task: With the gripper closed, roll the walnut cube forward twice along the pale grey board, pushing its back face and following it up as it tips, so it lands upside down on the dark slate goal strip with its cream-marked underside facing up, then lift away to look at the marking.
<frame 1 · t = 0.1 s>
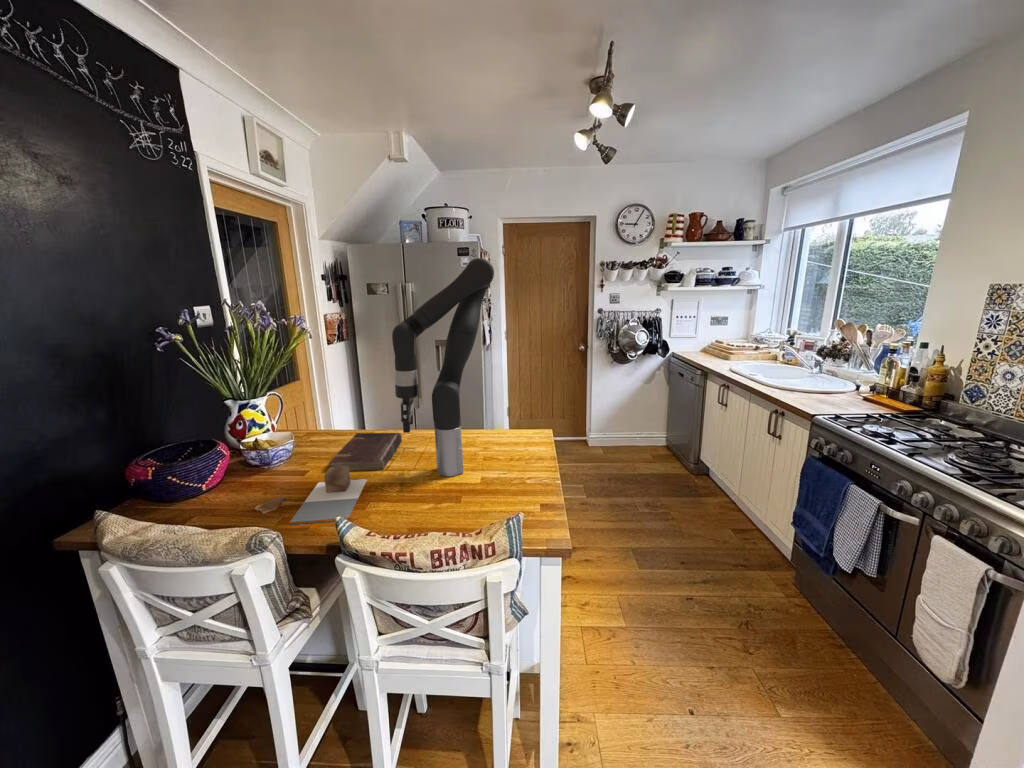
hand: (408, 428, 141), 17 cm above the table, tool pointing down, fingers open, 8 cm apart
shard: (272, 507, 125), on the table
walnut cube: (338, 487, 134), point 1 cm above the table, touching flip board
hardback book: (369, 458, 161), on the table
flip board: (332, 501, 127), on the table
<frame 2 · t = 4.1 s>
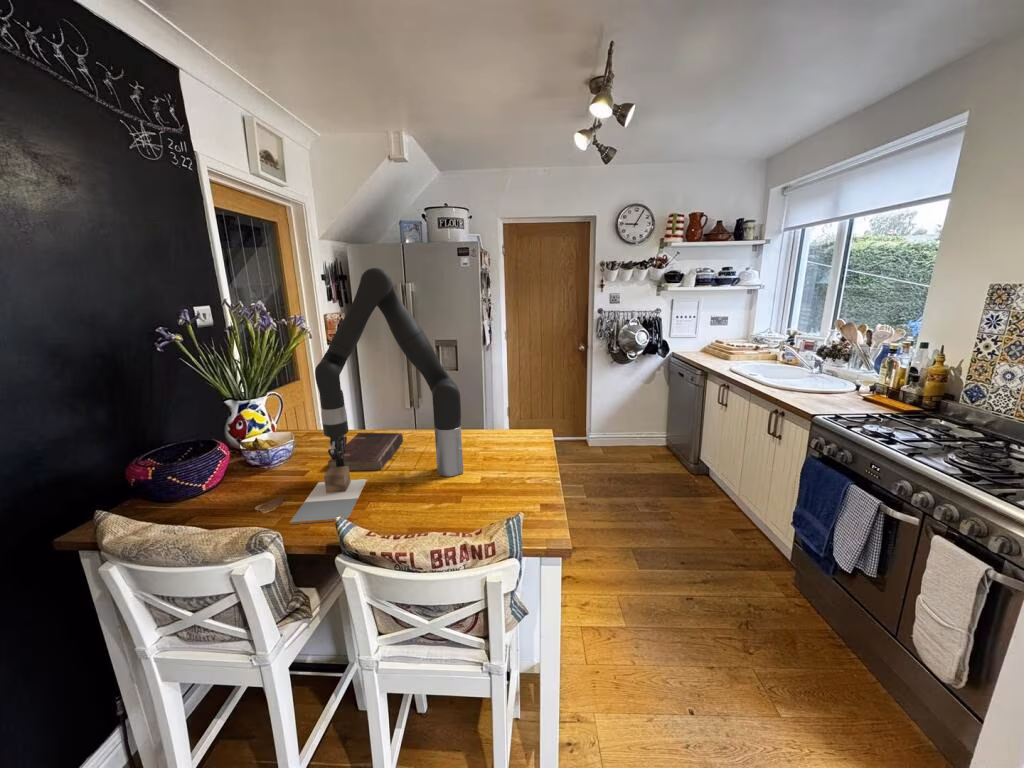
hand: (340, 468, 137), 6 cm above the table, tool pointing down, fingers closed
walnut cube: (338, 487, 134), point 1 cm above the table, touching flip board, gripper
everything else where it was.
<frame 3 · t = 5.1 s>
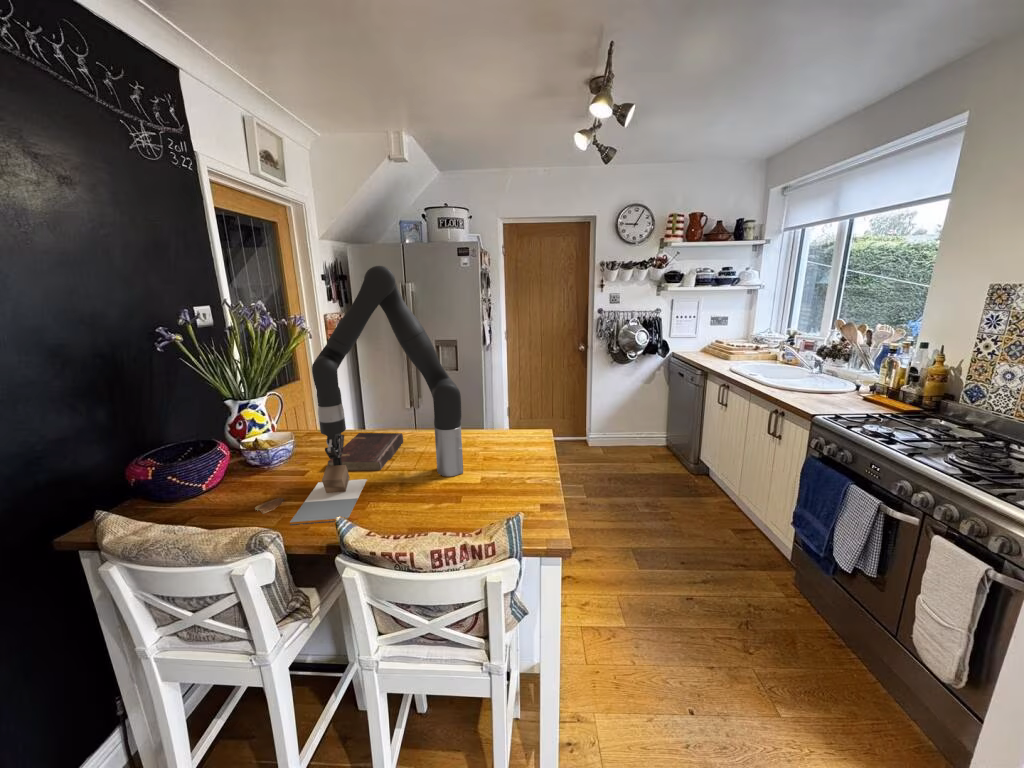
hand: (338, 467, 134), 7 cm above the table, tool pointing down, fingers closed
walnut cube: (338, 484, 133), point 2 cm above the table, tilted 23°, touching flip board, gripper
everything else where it was.
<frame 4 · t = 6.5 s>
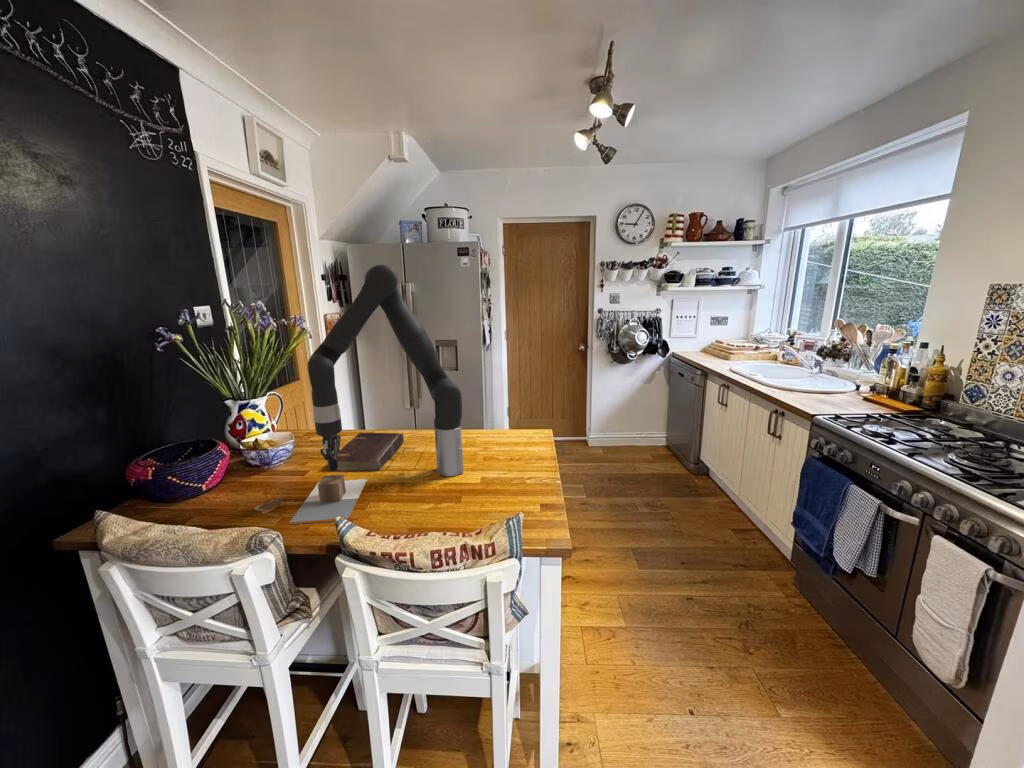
hand: (334, 469, 130), 8 cm above the table, tool pointing down, fingers closed
walnut cube: (335, 483, 130), point 4 cm above the table, tilted 90°, touching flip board
everything else where it was.
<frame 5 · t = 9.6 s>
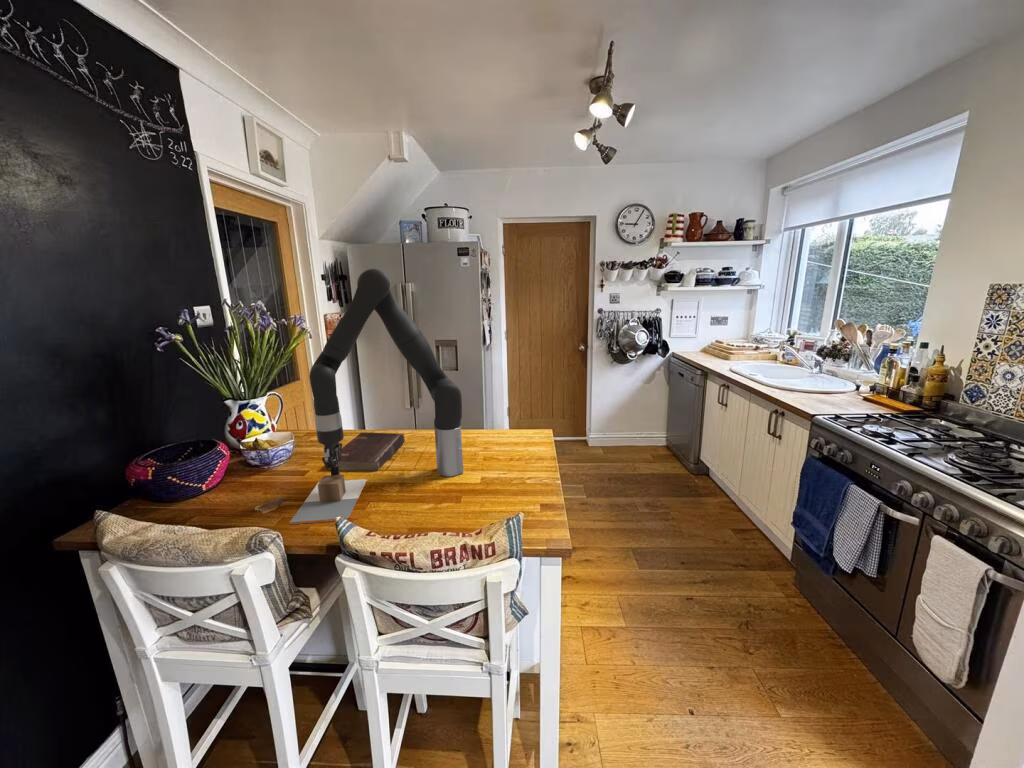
hand: (335, 477, 131), 6 cm above the table, tool pointing down, fingers closed
walnut cube: (335, 483, 130), point 4 cm above the table, tilted 90°, touching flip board, gripper
everything else where it was.
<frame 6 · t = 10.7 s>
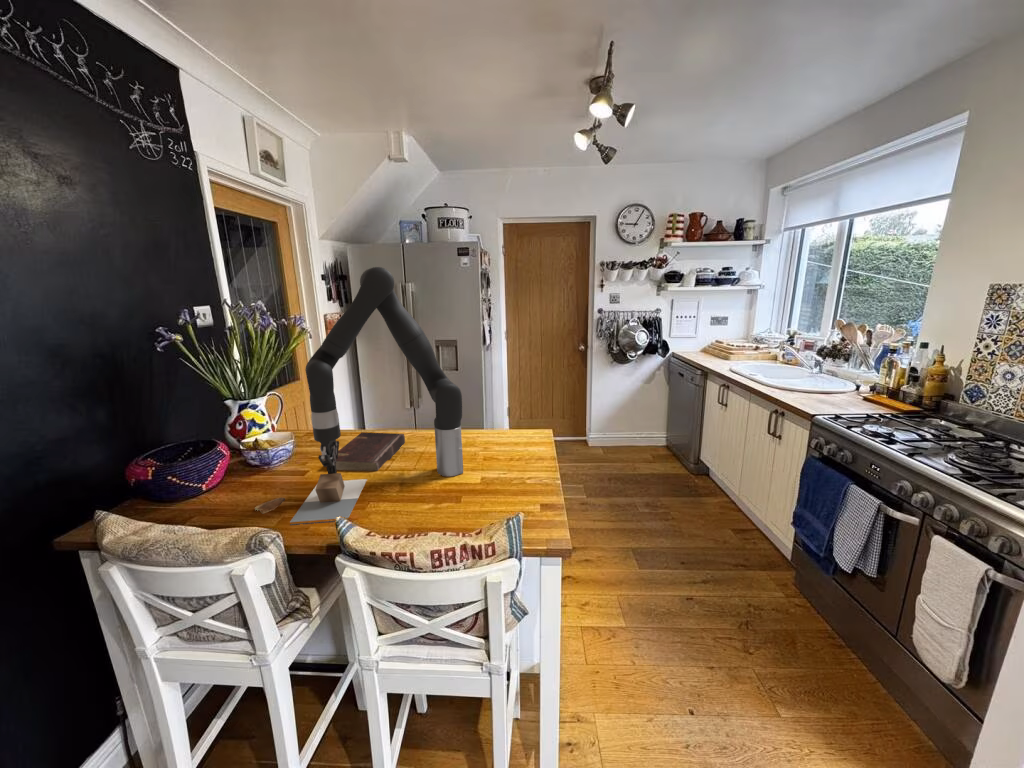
hand: (332, 475, 128), 7 cm above the table, tool pointing down, fingers closed
walnut cube: (332, 480, 128), point 6 cm above the table, tilted 111°, touching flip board, gripper
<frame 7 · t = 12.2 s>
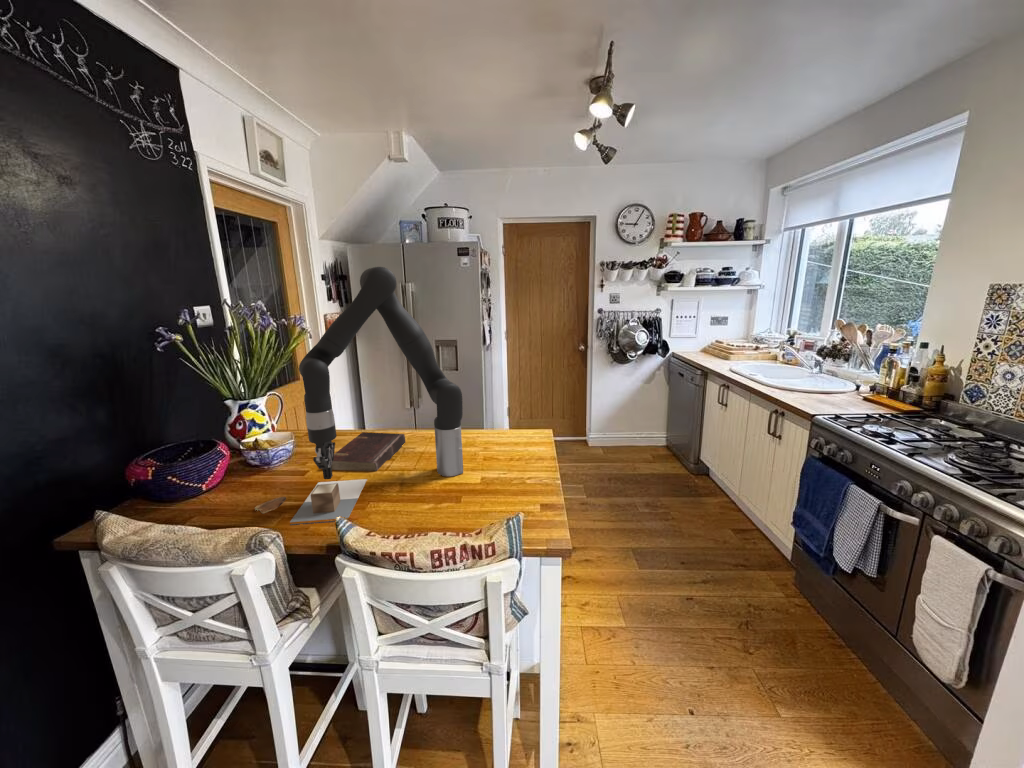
hand: (328, 478, 124), 9 cm above the table, tool pointing down, fingers closed
walnut cube: (324, 488, 121), point 7 cm above the table, tilted 180°, touching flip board
everything else where it was.
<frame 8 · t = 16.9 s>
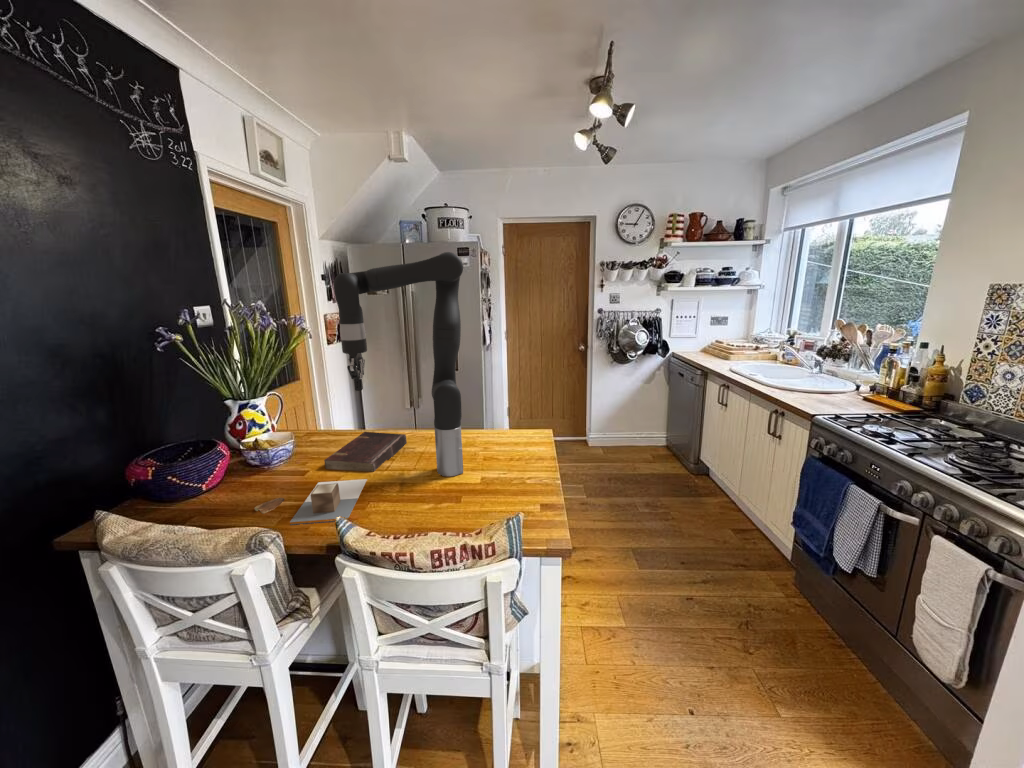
hand: (359, 390, 134), 32 cm above the table, tool pointing down, fingers closed
at the end: walnut cube tilted 180°; walnut cube inside the target area (1.0 cm from its centre), point 7.0 cm above the table; the gripper is holding nothing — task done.
